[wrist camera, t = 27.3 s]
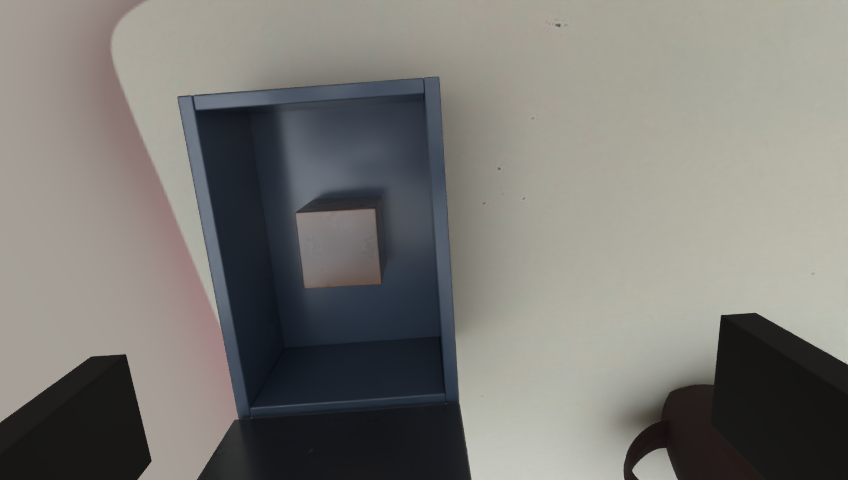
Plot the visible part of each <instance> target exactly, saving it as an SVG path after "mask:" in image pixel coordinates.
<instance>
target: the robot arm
mask: <svg viewBox="0 0 848 480" xmlns="http://www.w3.org/2000/svg"><path fill="white" fill-rule="evenodd" d="M710 425H711V426H712V427H713V428H714V429H715V430H716V431H717V432H718V433H719V434H720V435H721V436H722V437H723V438H724V439H725V440H726V441H727V442H728V443H729V444H730V445H731V446H732V447H733V448H734V449H735V450H736V451H737V452H738V453H739V454H740V455H741V456H742V457H743V458H744V459H745V460H746V461H747V463H748V464H749V465H750V466H751V467H752V468H753V469H754V470H755V471H756V472H757V473H758V474H759V475H760V476H761V477H762V478H763V479H764V480H848V365H847V364H846V363H844V362H842V361H840V360H838V359H837V358H835V357H833V356H831V355H830V354H828V353H826V352H824V351H822V350H821V349H819V348H817V347H815V346H814V345H812V344H810V343H808V342H806V341H805V340H803V339H801V338H799V337H798V336H796V335H794V334H792V333H790V332H789V331H787V330H785V329H783V328H782V327H780V326H778V325H776V324H775V323H773V322H771V321H769V320H767V319H766V318H764V317H762V316H760V315H759V314H757V313H747V314H732V315H721V321H720V331H719V341H718V351H717V361H716V371H715V381H714V391H713V401H712V411H711V421H710ZM150 463H151V456H150V452H149V448H148V444H147V440H146V436H145V431H144V427H143V423H142V419H141V415H140V411H139V407H138V402H137V399H136V394H135V390H134V386H133V382H132V378H131V373H130V369H129V365H128V361H127V357H126V355H125V354H124V355H110V356H93V357H90V358H89V359H87V360H86V361H84V362H83V363H82V364H80V365H79V366H78V367H76V368H75V369H74V370H72V371H71V372H69V373H68V374H67V375H65V376H64V377H62V378H61V379H60V380H58V381H57V382H56V383H54V384H53V385H51V386H50V387H49V388H47V389H46V390H44V391H43V392H42V393H40V394H39V395H38V396H36V397H35V398H34V399H32V400H31V401H29V402H28V403H27V404H25V405H24V406H22V407H21V408H20V409H18V410H17V411H16V412H14V413H13V414H11V415H10V416H9V417H7V418H6V419H4V420H3V421H2V422H1V423H0V480H137V479H138V478H139V477H140V476H141V474H142V473H143V472H144V470H145V469H146V468H147V466H148V465H149V464H150Z"/></svg>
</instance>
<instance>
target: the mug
mask: <svg viewBox="0 0 848 480" xmlns="http://www.w3.org/2000/svg"><path fill="white" fill-rule="evenodd" d="M713 391H714V385H693V386H688V387H684V388H681V389H678V390H675V391H673V392H671V393H670V394H669V396H668V398H667V400H666V402H665V405H664V408H663V412H662V418H661V421H660V422H657V423H655V424H652V425H651V426H649V427H648V428H646V429H645V430H644V431H642V432H641V433H640V434H639V435H638V436H637V437H636V438H635V440H634V441H633V443H632V444H631V446H630V447H629V449H628V452H627V455H626V459H625V463H624V479H625V480H639V479H638V478H637V477H636V476H635V475H634V474H633V472H632V469H633V468H634V466H635V465H636V464H637V462H638V461H639V460H640V459H642V458H643V457H644V456H645V455H647V454H648V453H650V452H651V451H653V450H656V449H659V448H667V452H668V455H669V458H670V461H671V464H672V466H673V469H674V472H675V474H676V477H677V479H678V480H764V479H763V478H762V477H761V476H760V475H759V474H758V473H757V472H756V471H755V470H754V469H753V468H752V467H751V466H750V465H749V464H748V463H747V461H746V460H745V459H744V458H743V457H742V456H741V455H740V454H739V453H738V452H737V451H736V450H735V449H734V448H733V447H732V446H731V445H730V444H729V443H728V442H727V441H726V440H725V439H724V438H723V437H722V436H721V435H720V434H719V433H718V432H717V431H716V430H715V429H714V428H713V427H712V426H711V425H710V421H711V411H712V401H713Z"/></svg>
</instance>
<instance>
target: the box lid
mask: <svg viewBox="0 0 848 480" xmlns="http://www.w3.org/2000/svg"><path fill="white" fill-rule="evenodd" d="M197 480H471V473H470V467H469V460H468V454H467V448H466V441H465V435H464V428H463V422H462V415H461V409H460V404H459V403H457V404H443V405H429V406H416V407H402V408H388V409H375V410H361V411H347V412H333V413H320V414H306V415H292V416H279V417H265V418H251V419H238V420H234V422H233V423H232V425H231V426H230V428H229V430H228V431H227V433H226V434H225V436H224V438H223V439H222V441H221V442H220V444H219V445H218V447H217V449H216V450H215V452H214V453H213V455H212V457H211V458H210V460H209V462H208V463H207V465H206V466H205V468H204V470H203V471H202V473H201V474H200V476H199V477H198V479H197Z"/></svg>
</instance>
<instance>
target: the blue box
mask: <svg viewBox="0 0 848 480" xmlns="http://www.w3.org/2000/svg"><path fill="white" fill-rule="evenodd" d="M178 103H179V108H180V114H181V119H182V124H183V129H184V135H185V140H186V145H187V150H188V156H189V161H190V166H191V171H192V177H193V182H194V187H195V192H196V198H197V203H198V208H199V213H200V219H201V224H202V229H203V234H204V240H205V245H206V250H207V255H208V261H209V266H210V271H211V277H212V282H213V287H214V292H215V298H216V303H217V308H218V313H219V319H220V324H221V329H222V334H223V340H224V345H225V350H226V355H227V360H228V366H229V371H230V376H231V382H232V387H233V392H234V397H235V403H236V407H237V413H238V418H239V419H251V418H265V417H279V416H292V415H306V414H320V413H333V412H347V411H361V410H375V409H388V408H402V407H416V406H429V405H443V404H457V403H459V391H458V375H457V358H456V342H455V326H454V310H453V293H452V277H451V261H450V244H449V228H448V212H447V196H446V179H445V163H444V147H443V130H442V114H441V98H440V82H439V77H427V78H424V79H423V78H414V79H401V80H388V81H374V82H361V83H348V84H334V85H321V86H308V87H294V88H281V89H268V90H254V91H241V92H228V93H214V94H201V95H194V96H193V95H187V96H178ZM372 196H381V197H382V208H383V221H384V234H385V247H386V260H387V263H386V267H385V272H384V276H383V281H382V284H381V285H365V286H347V287H329V288H312V289H304V284H303V276H302V267H301V259H300V251H299V243H298V235H297V227H296V219H295V212H297V211H298V210H299V209H301V208H302V207H303V206H305V205H306V204H308V203H309V202H310V201H312V200H319V199H337V198H354V197H372Z"/></svg>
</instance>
